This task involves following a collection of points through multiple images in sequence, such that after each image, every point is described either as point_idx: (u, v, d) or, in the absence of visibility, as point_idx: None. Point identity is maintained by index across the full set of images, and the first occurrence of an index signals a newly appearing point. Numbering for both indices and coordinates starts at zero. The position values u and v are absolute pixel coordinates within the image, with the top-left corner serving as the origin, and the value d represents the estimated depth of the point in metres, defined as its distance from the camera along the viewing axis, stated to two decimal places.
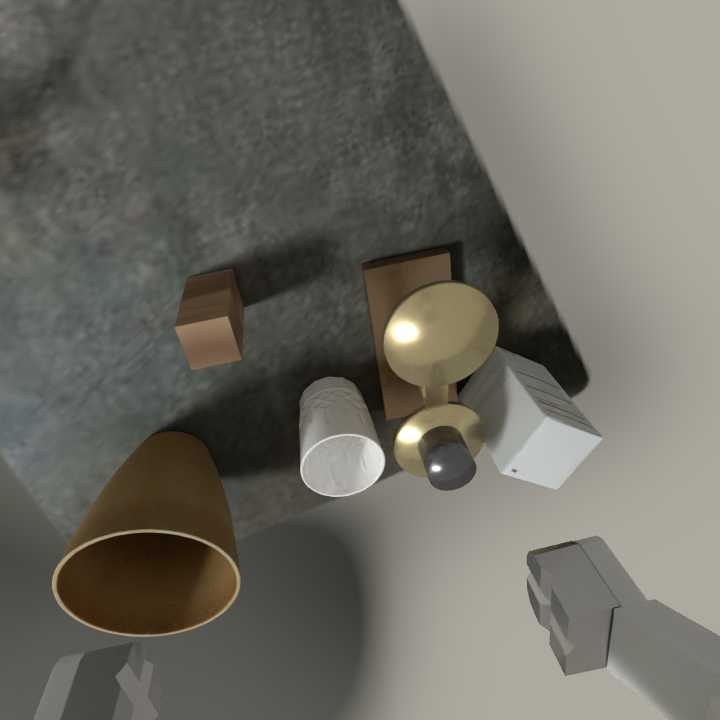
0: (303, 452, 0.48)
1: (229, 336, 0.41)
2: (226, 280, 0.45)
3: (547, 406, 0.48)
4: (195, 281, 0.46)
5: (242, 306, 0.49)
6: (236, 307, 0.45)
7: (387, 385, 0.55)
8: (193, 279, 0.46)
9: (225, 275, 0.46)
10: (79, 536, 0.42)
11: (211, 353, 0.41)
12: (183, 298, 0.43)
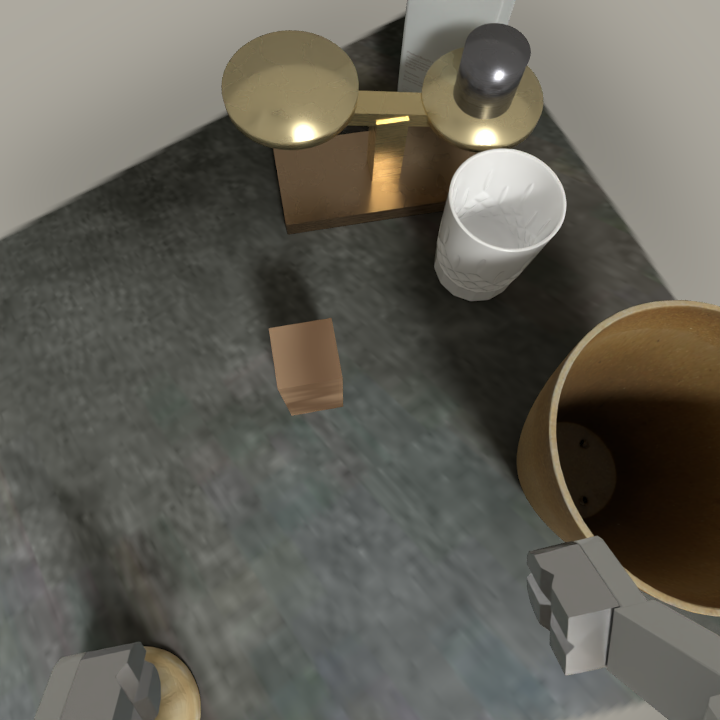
0: (486, 251, 0.35)
1: (296, 328, 0.33)
2: None
3: None
4: None
5: None
6: None
7: (441, 195, 0.45)
8: None
9: None
10: None
11: (319, 351, 0.33)
12: None
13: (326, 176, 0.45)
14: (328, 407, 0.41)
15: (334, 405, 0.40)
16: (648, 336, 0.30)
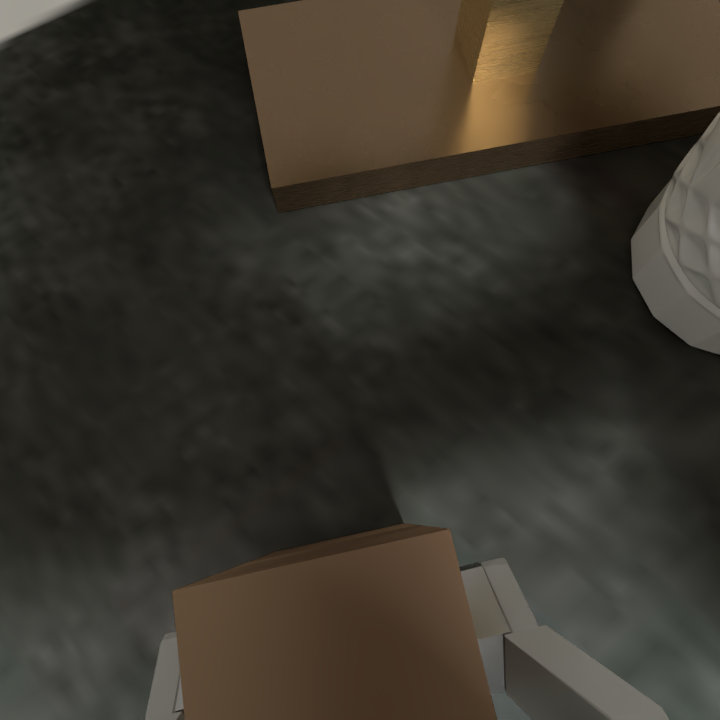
0: None
1: (298, 589, 0.07)
2: None
3: None
4: None
5: (390, 527, 0.16)
6: (327, 544, 0.12)
7: (639, 105, 0.19)
8: None
9: None
10: None
11: (409, 710, 0.07)
12: None
13: (364, 74, 0.19)
14: None
15: None
16: None
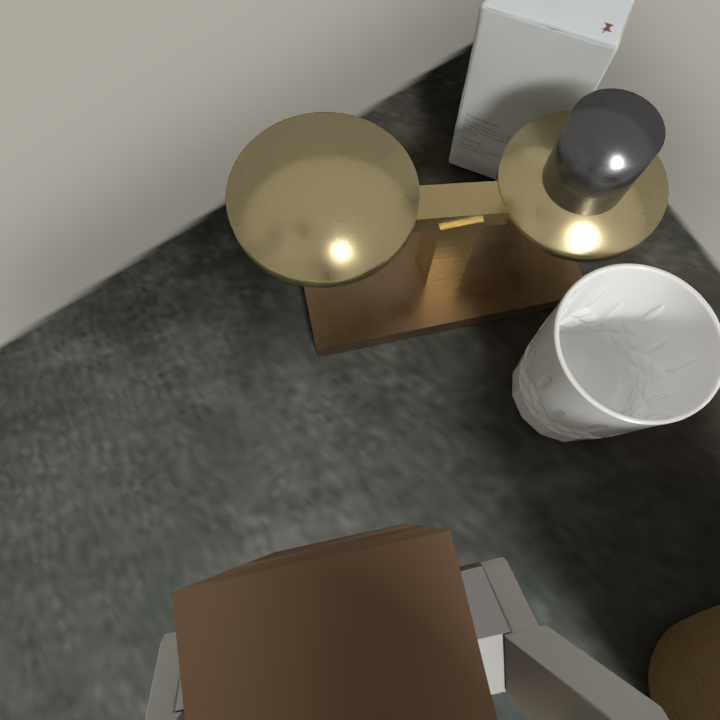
0: (613, 420, 0.24)
1: (298, 591, 0.07)
2: None
3: None
4: None
5: (390, 527, 0.16)
6: (327, 545, 0.12)
7: (517, 299, 0.34)
8: None
9: None
10: None
11: (409, 712, 0.07)
12: None
13: (365, 279, 0.35)
14: None
15: None
16: None
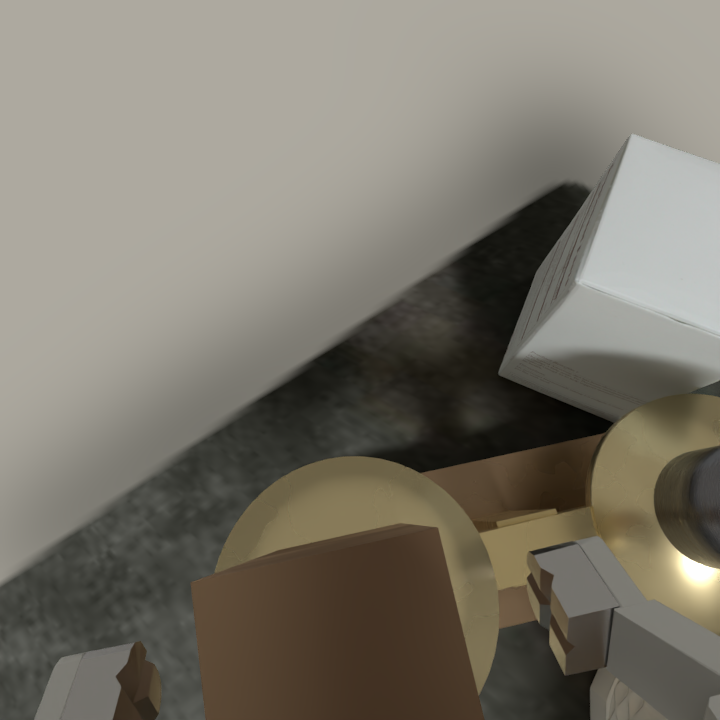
0: None
1: (303, 581, 0.08)
2: None
3: (565, 277, 0.21)
4: None
5: (387, 526, 0.17)
6: (328, 542, 0.13)
7: None
8: None
9: None
10: None
11: (401, 688, 0.08)
12: None
13: None
14: None
15: None
16: None
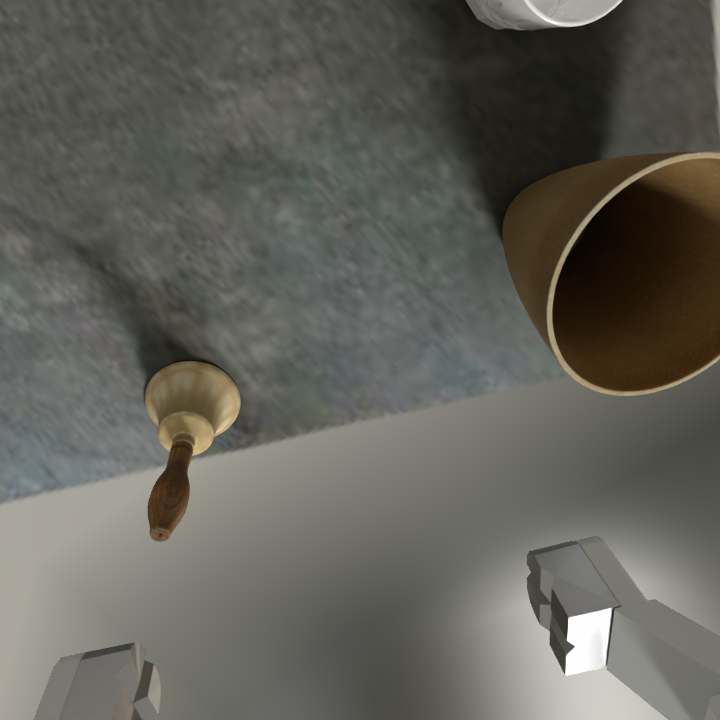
0: (536, 18, 0.30)
1: None
2: None
3: None
4: None
5: None
6: None
7: None
8: None
9: None
10: (551, 350, 0.34)
11: None
12: None
13: None
14: None
15: None
16: None
